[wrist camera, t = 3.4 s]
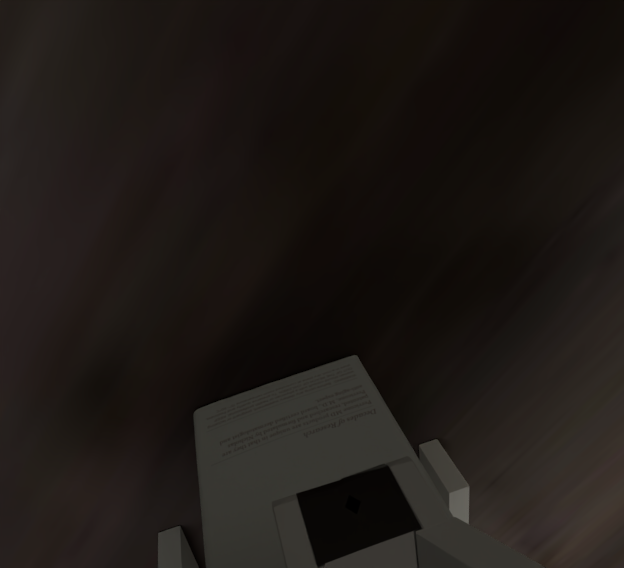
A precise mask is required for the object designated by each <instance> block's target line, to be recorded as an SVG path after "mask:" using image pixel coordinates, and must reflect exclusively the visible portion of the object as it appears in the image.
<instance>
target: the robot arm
mask: <svg viewBox="0 0 624 568" xmlns="http://www.w3.org/2000/svg"><path fill="white" fill-rule="evenodd" d="M296 496H297V497H296ZM272 510H273V514H274V518H275V523H276V527H277V531H278V536H279V540H280V544H281V549H282V553H283V557H284V562H285V566H286V568H546V567H544V566H542V565H540V564H539V563H537V562H535V561H533V560H531V559H530V558H528V557H526V556H524V555H523V554H521V553H519V552H517V551H515V550H514V549H512V548H510V547H508V546H507V545H505V544H503V543H501V542H499V541H498V540H496V539H494V538H492V537H490V536H489V535H487V534H485V533H483V532H482V531H480V530H478V529H476V528H474V527H473V526H471V525H469V524H467V523H466V522H464V521H462V520H460V519H458V518H457V517H454V518H451V519H448V517H447V515H446V514H445V512H444V510H443V509H442V507H441V506H440V504H439V502H438V501H437V499H436V497H435V496H434V494H433V493H432V491H431V489H430V488H429V486H428V484H427V483H426V481H425V479H424V478H423V476H422V475H421V473H420V471H419V470H418V468H417V466H416V465H415V463H414V462H413V460H412V459H411V458H410V457H409V456H406V457H403V458H400V459H397V460H394V461H391V462H388V463H386V464H381V465H378V466H375V467H372V468H370V469H367V470H364V471H361V472H358V473H356V474H353V475H350V476H347V477H344V478H342V479H341V480H338V481H335V482H332V483H329V484H325V485H322V486H319V487H316V488H312V489H309V490H306V491H303V492H300V493H296V495H295V494H294V495H291V496H288V497H285V498H281V499H278V500H275V501H272Z"/></svg>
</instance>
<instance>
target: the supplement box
mask: <svg viewBox="0 0 624 568" xmlns="http://www.w3.org/2000/svg"><path fill="white" fill-rule="evenodd" d="M193 418H194V432H195V445H196V457H197V468H198V479H199V491H200V503H201V515H202V527H203V539H204V550H205V561H206V568H286V566H285V562H284V557H283V553H282V549H281V544H280V540H279V536H278V531H277V527H276V523H275V518H274V514H273V510H272V501H275V500H278V499H281V498H285V497H288V496H291V495H294V494H295V495H296V493H300V492H303V491H306V490H309V489H312V488H316V487H319V486H322V485H325V484H329V483H332V482H335V481H338V480H341V479H342V478H344V477H347V476H350V475H353V474H356V473H358V472H361V471H364V470H367V469H370V468H372V467H375V466H378V465H381V464H386V463H388V462H391V461H394V460H397V459H400V458H403V457H406V456H409V457H410V458H411V459H412V460H413V462H414V463H415V465H416V466H417V468H418V470H419V471H420V473H421V475H422V476H423V478H424V479H425V481H426V483H427V484H428V486H429V488H430V489H431V491H432V493H433V494H434V496H435V497H436V499H437V501H438V502H439V504H440V506H441V507H442V509H443V510H444V512H445V514H446V515H447V517H448V519H451V518H454V517H453V515H452V514H451V512H450V510H449V509H448V507H447V505H446V504H445V502H444V500H443V499H442V497H441V495H440V494H439V492H438V490H437V489H436V487H435V485H434V484H433V482H432V480H431V478H430V477H429V475H428V473H427V472H426V470H425V469H424V467H423V465H422V464H421V462H420V460H419V459H418V457H417V455H416V454H415V452H414V450H413V448H412V447H411V445H410V443H409V442H408V440H407V438H406V437H405V435H404V433H403V432H402V430H401V428H400V427H399V425H398V423H397V422H396V420H395V419H394V417H393V415H392V414H391V412H390V410H389V408H388V407H387V405H386V403H385V402H384V400H383V398H382V397H381V395H380V393H379V391H378V390H377V388H376V386H375V385H374V383H373V381H372V380H371V378H370V377H369V375H368V373H367V372H366V370H365V368H364V367H363V365H362V363H361V362H360V360H359V358H358V356H357V355H353V356H350V357H346V358H343V359H340V360H337V361H334V362H331V363H328V364H325V365H322V366H319V367H316V368H314V369H311V370H308V371H305V372H302V373H298V374H295V375H293V376H290V377H287V378H284V379H281V380H278V381H275V382H272V383H269V384H266V385H263V386H260V387H257V388H255V389H252V390H249V391H246V392H243V393H240V394H237V395H235V396H232V397H229V398H226V399H223V400H219V401H217V402H214V403H211V404H209V405H207V406H204V407H201V408H199V409H197V410H196V411H195V412H194V415H193ZM296 497H297V496H296Z"/></svg>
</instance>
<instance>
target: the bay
mask: <svg viewBox="0 0 624 568" xmlns="http://www.w3.org/2000/svg"><path fill="white" fill-rule="evenodd" d="M419 458H420V462H421V464H422V465H423V467H424V469H425V470H426V472H427V473H428V475H429V477H430V478H431V480H432V482H433V484H434V485H435V487H436V489H437V490H438V492H439V494H440V495H441V497H442V499H443V500H444V502H445V504H446V505H447V507H448V509H449V510H450V512H451V514H452V515H453V517H457V518H458V519H460V520H462V521H464V522H466V523H467V524H469V485H468V484H467V482H466V481H465V479H464V478H463V476H462V475H461V473H460V472H459V470H458V469H457V467H456V466H455V465H454V463H453V462H452V460H451V459H450V457H449V456H448V454H447V453H446V451H445V450H444V448H443V447H442V446H441V444H440V443H439V441H438V440H437V439H435V440H432V441H429V442H426V443H423V444H420V445H419ZM158 568H199V566H198V564H197V562H196V560H195V558H194V555H193V553H192V551H191V549H190V546H189V544H188V542H187V540H186V538H185V535H184V533H183V531H182V529H181V526H177V527H174V528H171V529H168V530H165V531H162V532H159V533H158Z"/></svg>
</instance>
